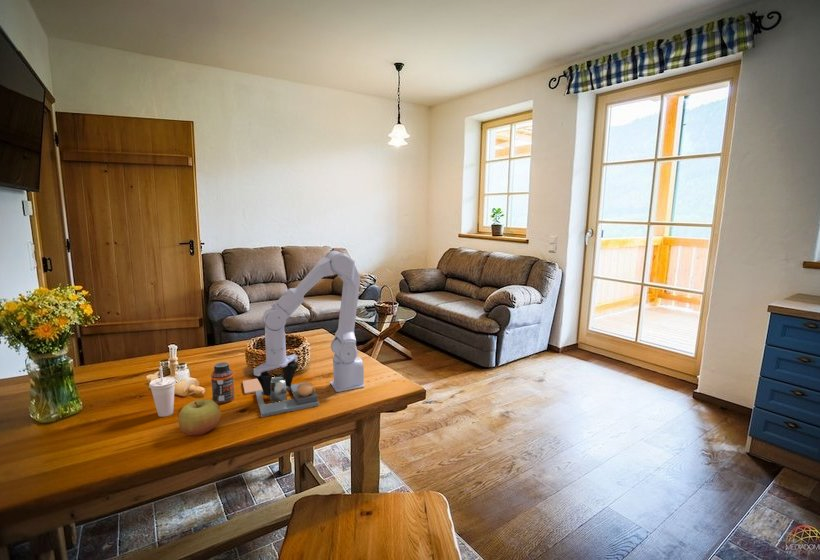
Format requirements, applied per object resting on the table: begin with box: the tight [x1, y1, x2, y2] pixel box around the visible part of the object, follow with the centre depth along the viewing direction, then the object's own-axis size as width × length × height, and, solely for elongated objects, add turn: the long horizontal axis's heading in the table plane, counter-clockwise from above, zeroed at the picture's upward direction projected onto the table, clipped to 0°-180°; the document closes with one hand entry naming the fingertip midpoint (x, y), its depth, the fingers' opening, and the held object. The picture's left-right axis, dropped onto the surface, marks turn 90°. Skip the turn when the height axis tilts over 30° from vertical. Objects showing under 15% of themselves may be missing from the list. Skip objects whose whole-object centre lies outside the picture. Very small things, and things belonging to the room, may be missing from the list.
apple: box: [177, 398, 221, 436], centre depth 105 cm, size 10×10×8 cm
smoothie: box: [148, 366, 177, 418], centre depth 113 cm, size 6×6×14 cm
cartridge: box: [269, 376, 288, 403], centre depth 123 cm, size 5×5×7 cm
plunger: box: [297, 382, 314, 397], centre depth 121 cm, size 4×4×4 cm
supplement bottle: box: [210, 362, 235, 405], centre depth 122 cm, size 6×6×11 cm
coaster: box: [242, 376, 275, 395], centre depth 133 cm, size 10×10×1 cm
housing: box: [254, 381, 320, 418], centre depth 123 cm, size 16×16×3 cm
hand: (277, 390), depth 124 cm, fingers open, 7 cm apart
